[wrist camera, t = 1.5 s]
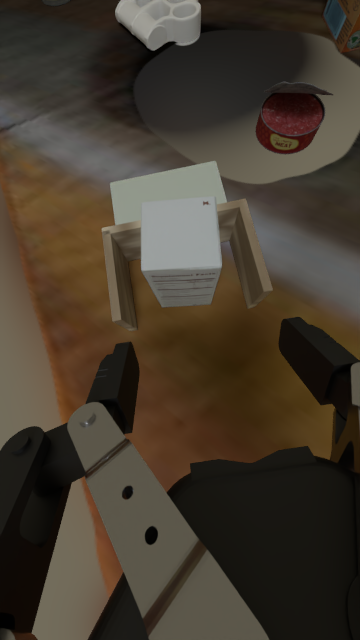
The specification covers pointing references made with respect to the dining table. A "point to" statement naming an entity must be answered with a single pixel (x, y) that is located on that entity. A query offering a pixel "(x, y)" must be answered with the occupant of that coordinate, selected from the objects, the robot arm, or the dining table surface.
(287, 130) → the canned food
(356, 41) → the milk carton
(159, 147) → the dining table surface
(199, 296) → the supplement box
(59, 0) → the thermos
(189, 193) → the mat
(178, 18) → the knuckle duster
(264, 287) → the box
